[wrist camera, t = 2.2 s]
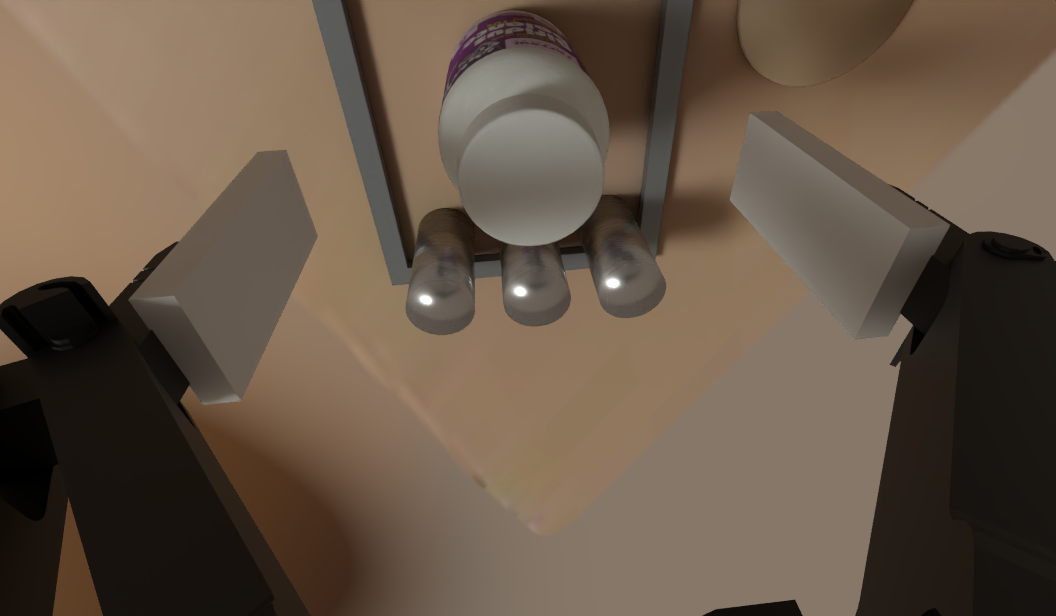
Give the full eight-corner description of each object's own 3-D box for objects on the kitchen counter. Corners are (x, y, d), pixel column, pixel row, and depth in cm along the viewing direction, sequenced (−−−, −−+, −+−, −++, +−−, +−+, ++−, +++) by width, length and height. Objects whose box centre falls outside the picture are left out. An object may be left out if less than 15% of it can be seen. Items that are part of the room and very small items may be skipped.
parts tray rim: (246, -255, 14) (238, -260, 14) (727, -278, 15) (735, -283, 14) (393, 278, 26) (392, 285, 26) (651, 256, 27) (655, 262, 26)
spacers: (322, -203, 15) (254, -247, 10) (675, -221, 15) (761, -271, 11) (423, 258, 26) (413, 337, 21) (628, 241, 26) (661, 314, 21)
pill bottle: (558, -15, 18) (615, 44, 11) (588, 121, 22) (647, 236, 14) (425, 34, 19) (395, 121, 12) (474, 158, 22) (474, 287, 15)
